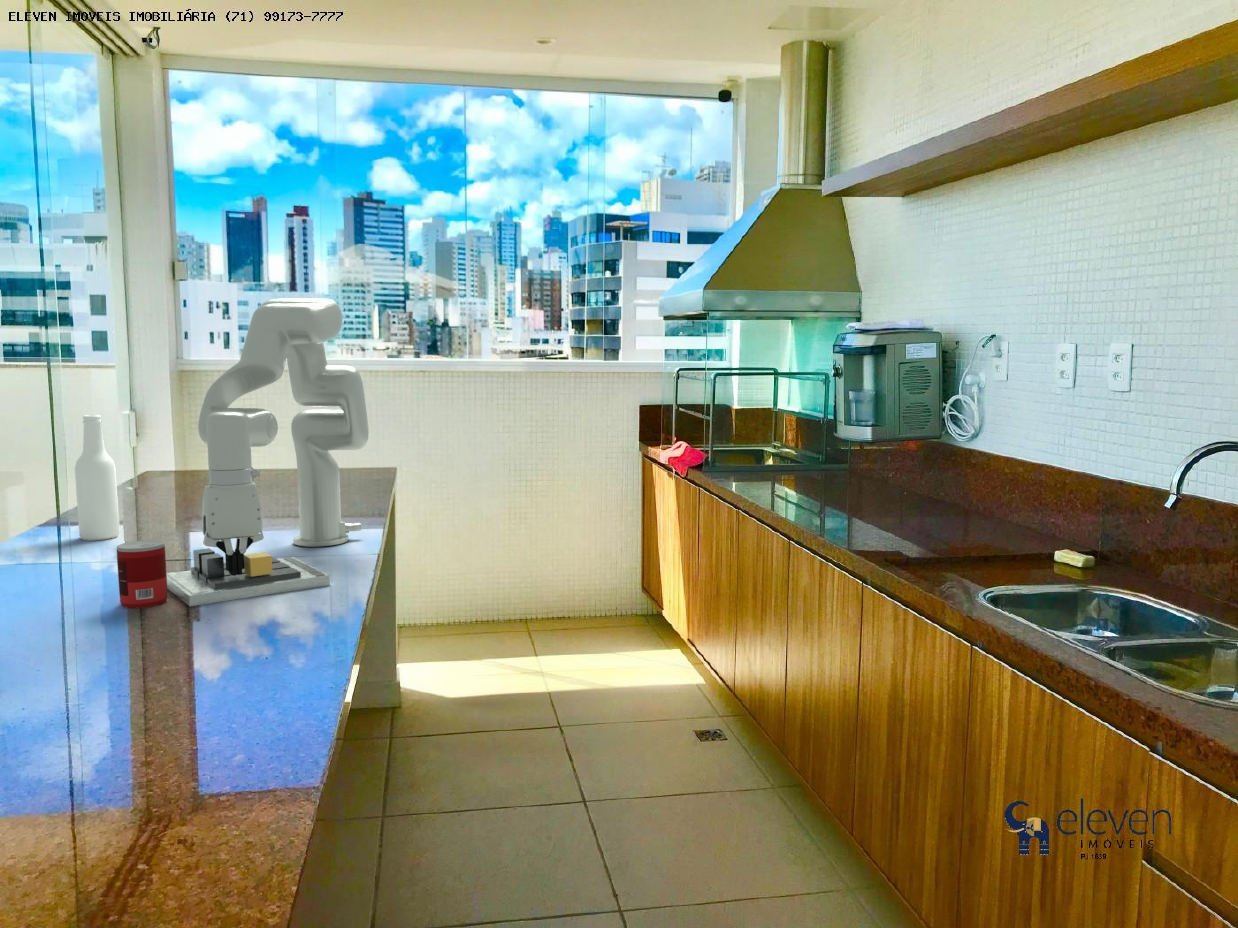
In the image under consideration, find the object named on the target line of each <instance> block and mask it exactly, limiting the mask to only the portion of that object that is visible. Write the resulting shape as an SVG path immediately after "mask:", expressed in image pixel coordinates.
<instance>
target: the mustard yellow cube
mask: <svg viewBox="0 0 1238 928" xmlns="http://www.w3.org/2000/svg"><path fill="white" fill-rule="evenodd" d="M272 557H273V556H272V555H271V554H269V553H267V552H266V551H264V552H257V553H249V554H244V566H245V573H246V574H248V575H249V576H251V577H252V576H259V575H267V574H272Z"/></svg>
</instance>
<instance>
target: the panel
mask: <svg viewBox="0 0 1238 928" xmlns="http://www.w3.org/2000/svg"><path fill="white" fill-rule="evenodd" d="M192 551H193V553H192V554H193V566H192V567H190V570H185V571H184V570H183V571H177V572H175V571H172V572H166V574H167V590H169V591H170V592H172V594H174V595H176V597H178V599H180V600H181V601H182V602H184V603H185V604H186V605H187V606H188V607H196V606H202V605H208V604H209V605H210V604H214V603H220V602H227V601H235V600H242V599H248V598H253V597H261V596H267V595H275V594H279V593H287V592H292V591H295V592H296V591H301V590H307V589H312V588H314V589H315V588H320V587H325V586H327V587H328V586H331V578H330V577H331V576H330V574H328V573H326V572H324V571H322V570H320V569H318V568H316V567H314V566H313V565H310V564H308V563H306V562H304V561H302V560H301V559H299V558H296V557H294V556H287V557H286V556H285V557H282V558H275V557H273V556H272V574H267V575H259V576H252V577H251V576H249V575H248V574H246V573H245V568H244V569H242V575H238V574H237V575H235V576H233V575H231V574H230V573H229V571H227V570H226V562H225V561H224V556H223V555H221V554H219V553H216V552H215V551H214V550H213V549H211V548H210V547H208V548H201V549H194V550H193V549H192Z"/></svg>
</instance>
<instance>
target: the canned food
mask: <svg viewBox="0 0 1238 928" xmlns="http://www.w3.org/2000/svg"><path fill="white" fill-rule="evenodd" d="M166 559H167V557H166V545H165V542H164V541H163V540H158V539H157V540H156V539H151V540H150V539H145V540H134V541H133V540H132V541H128V542H127V541H126V542H123V543H120V544H119V545H117V546H116V563H117V564H116V565H117V573H118V574H117V577H118V591H119V592H118V593H119V603H120V604H121V607H122V608H125V609H143V608H144V609H146V608H152V607H157V606H161V605H163V604H165V603H166V602H167V600H168V588H167V574H166V573H167V560H166Z"/></svg>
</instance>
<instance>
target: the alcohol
mask: <svg viewBox="0 0 1238 928" xmlns="http://www.w3.org/2000/svg"><path fill="white" fill-rule="evenodd" d="M82 419H83V420H82V424H83V441H82V442H83V445H82V449H83V450H82V453H81V455H80V456H79V457H78V459H77V460H76V462H75V466H74V475H75V489H76V491H75V493H76V505H77V507H76V508H77V521H78V533H79V534H78V537H80V538H81V539H82V540H83V541H95V542H96V541H104V540H105V541H106V540H111V539H110V538H112V539H114V538H115V537H116V538H117V537H118V536H119V535H120V533H121V530H120V515H119V513H120V512H119V499H118V484H117V470H116V469H117V468H116V464H115V460H114V459H113V458H112V457H111V456H110V454H108V452H107V450H106V446H105V441H104V435H103V428H102V416H101V414H85V415H83V416H82ZM116 538H115V539H116Z"/></svg>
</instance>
